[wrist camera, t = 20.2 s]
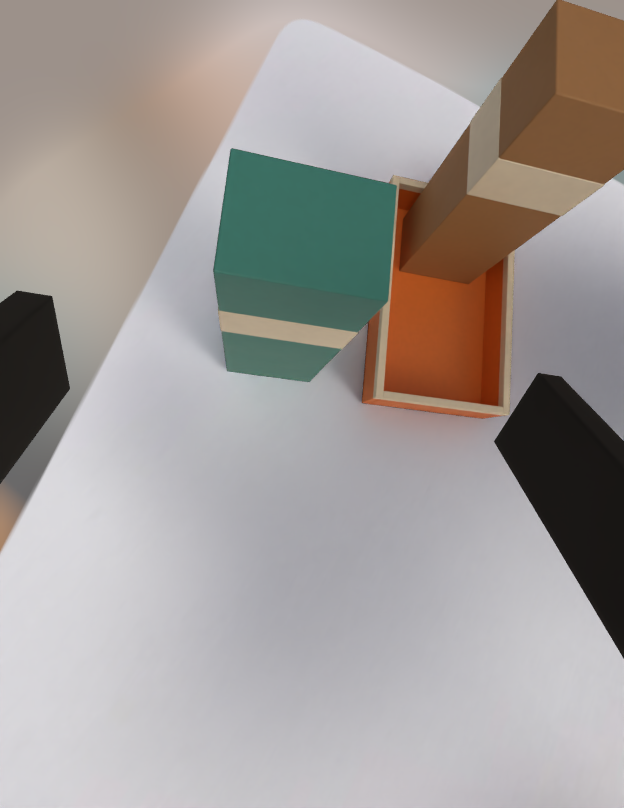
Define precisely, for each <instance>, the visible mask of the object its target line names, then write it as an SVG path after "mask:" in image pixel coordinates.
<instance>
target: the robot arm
mask: <svg viewBox="0 0 624 808" xmlns="http://www.w3.org/2000/svg"><path fill="white" fill-rule="evenodd" d="M69 389H70V386H69V381H68V376H67V371H66V366H65V361H64V356H63V350H62V345H61V340H60V334H59V329H58V324H57V319H56V314H55V308H54V303H53V298H52V296H48V295H41V294H34V293H29V292H22V291H16V292H15V293H13V294H12V295H11V296H9V297H8V298H6V299H5V300H4V301H2V302H1V303H0V484H1V482H2V481H3V479H4V478H5V477H6V475H7V474H8V473H9V471H10V470H11V468H12V467H13V466H14V464H15V463H16V462H17V460H18V459H19V458H20V456H21V455H22V454H23V452H24V451H25V449H26V448H27V447H28V445H29V444H30V443H31V441H32V440H33V438H34V437H35V436H36V434H37V433H38V432H39V430H40V429H41V428H42V426H43V425H44V423H45V422H46V421H47V419H48V418H49V417H50V415H51V414H52V413H53V411H54V410H55V408H56V407H57V406H58V404H59V403H60V401H61V400H62V399H63V398H64V396H65V395H66V393H67V392H68V391H69ZM494 442H495V444H496V446H497V447H498V449H499V451H500V452H501V454H502V456H503V457H504V459H505V461H506V462H507V464H508V466H509V467H510V469H511V471H512V472H513V474H514V476H515V477H516V479H517V481H518V482H519V484H520V486H521V487H522V489H523V491H524V492H525V494H526V496H527V497H528V499H529V501H530V502H531V504H532V506H533V508H534V509H535V511H536V513H537V514H538V516H539V518H540V519H541V521H542V523H543V524H544V526H545V528H546V529H547V531H548V533H549V534H550V536H551V538H552V539H553V541H554V543H555V544H556V546H557V548H558V549H559V551H560V553H561V554H562V556H563V558H564V559H565V561H566V563H567V564H568V566H569V568H570V569H571V571H572V573H573V574H574V576H575V578H576V579H577V581H578V583H579V584H580V586H581V588H582V589H583V591H584V593H585V594H586V596H587V598H588V600H589V601H590V603H591V605H592V606H593V608H594V610H595V611H596V613H597V615H598V616H599V618H600V620H601V621H602V623H603V625H604V626H605V628H606V630H607V631H608V633H609V635H610V636H611V638H612V640H613V641H614V643H615V645H616V646H617V648H618V650H619V651H620V653H621V655H622V656H623V658H624V441H623V440H622V439H621V438H620V437H619V436H618V435H617V434H616V433H615V432H614V431H613V430H612V429H611V428H610V427H609V425H608V424H607V423H606V422H605V421H604V420H603V419H602V418H601V417H600V416H599V415H598V414H597V413H596V412H595V411H594V410H593V409H592V408H591V407H590V406H589V405H588V404H587V403H586V402H585V401H584V400H583V399H582V398H581V397H580V396H579V395H578V394H577V393H576V392H575V390H574V389H573V388H572V387H571V386H570V385H569V384H568V383H567V382H566V381H565V380H564V379H563V378H562V377H560V376H554V375H548V374H541V373H538V374H537V375H536V377H535V378H534V380H533V382H532V383H531V385H530V386H529V388H528V389H527V391H526V393H525V394H524V396H523V397H522V399H521V400H520V402H519V403H518V405H517V407H516V408H515V410H514V411H513V413H512V414H511V416H510V417H509V419H508V421H507V422H506V424H505V425H504V427H503V428H502V430H501V432H500V433H499V435H498V436H497V438H496V439H495V441H494Z"/></svg>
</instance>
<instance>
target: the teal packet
mask: <svg viewBox="0 0 624 808" xmlns="http://www.w3.org/2000/svg"><path fill="white" fill-rule="evenodd" d="M396 191H397V185H394V184H389V183H385V182H380V181H376V180H372V179H367V178H363V177H358V176H354V175H349V174H345V173H340V172H336V171H331V170H327V169H322V168H318V167H313V166H309V165H304V164H300V163H295V162H291V161H286V160H282V159H277V158H273V157H268V156H264V155H260V154H255V153H251V152H246V151H242V150H237V149H233V148H232V149H231V150H230V157H229V164H228V171H227V178H226V185H225V192H224V199H223V206H222V213H221V220H220V227H219V234H218V241H217V248H216V255H215V262H214V269H213V272H214V279H215V287H216V294H217V301H218V315H219V322H220V329H221V331H222V338H223V345H224V353H225V360H226V368H227V371H230V372H237V373H245V374H252V375H260V376H267V377H275V378H282V379H290V380H297V381H305V382H310V381H311V380H312V379H313V378H314V377H315V376H316V375H317V374H318V372H319V371H320V370H321V369H322V368H323V367H324V366H325V365H326V364H327V363H328V362H329V361H330V360H331V359H332V358H333V357H334V356H335V355H336V354H337V353H338V352H339V351H340V350H341V349H343V348H344V347H345V346H346V345H347V344H348V343H349V342H350V341H351V340H352V339H353V338H354V337H355V336H356V335H357V334H358V333H359V331H360V330H361V329H362V328H363V327H364V326H365V325H366V323H367V322H368V321H369V320H370V319H371V318H372V317H373V316H374V315H375V314H376V313H377V312H378V311H379V310H380V309H381V308H382V307H383V306H384V305H385V304H386V303H387V302H388V297H389V284H390V270H391V257H392V244H393V231H394V218H395V205H396Z"/></svg>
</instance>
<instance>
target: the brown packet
mask: <svg viewBox="0 0 624 808" xmlns="http://www.w3.org/2000/svg"><path fill="white" fill-rule="evenodd" d="M623 170H624V21H623V20H620V19H617V18H614V17H611V16H608V15H605V14H602V13H599V12H596V11H592V10H590V9H587V8H584V7H581V6H578V5H575V4H571V3H569V2H565V1H562V0H556V2H555V3H554V5H553V6H552V8H551V9H550V10H549V12H548V13H547V15H546V16H545V18H544V19H543V20H542V22H541V23H540V25H539V26H538V27H537V29H536V30H535V32H534V33H533V35H532V36H531V37H530V39H529V40H528V42H527V43H526V45H525V46H524V47H523V49H522V50H521V52H520V53H519V54H518V56H517V58H516V59H515V60H514V62H513V63H512V64H511V66H510V67H509V69H508V70H507V72H506V73H505V74H504V76H503V77H502V78H501V79H500V80H499V82H498V83H497V85H496V86H495V87H494V89H493V90H492V91H491V93H490V94H489V96H488V97H487V99H486V100H485V102H484V103H483V104H482V106H481V107H480V109H479V110H478V111H477V113H476V114H475V116H474V117H473V119H472V120H471V122H470V124H469V126H468V127H467V129H466V130H465V131H464V133H463V134H462V136H461V137H460V139H459V140H458V141H457V143H456V144H455V146H454V147H453V149H452V150H451V151H450V153H449V154H448V156H447V157H446V158H445V160H444V161H443V163H442V164H441V166H440V167H439V168H438V170H437V171H436V173H435V174H434V176H433V177H432V178H431V180H430V181H429V183H428V184H427V186H426V187H425V188H424V190H423V191H422V193H421V194H420V196H419V197H418V198H417V200H416V201H415V203H414V204H413V205H412V207H411V208H410V210H409V211H408V213H407V214H406V215H405V217H404V218H403V226H402V240H401V253H400V267H399V271H401V272H407V273H412V274H417V275H423V276H428V277H433V278H439V279H444V280H449V281H454V282H460V283H465V284H469V283H471V282H472V281H474V280H475V279H476V278H478V277H479V276H480V275H482V274H483V273H484V272H486V271H487V270H488V269H490V268H491V267H493V266H494V265H495V264H497V263H498V262H499V261H501V260H502V259H503V258H505V257H506V256H507V255H509V254H510V253H511V252H513V251H514V250H516V249H517V248H518V247H520V246H521V245H522V244H524V243H525V242H526V241H528V240H529V239H530V238H532V237H533V236H535V235H536V234H537V233H539V232H540V231H541V230H543V229H544V228H545V227H547V226H548V225H549V224H551V223H552V222H554V221H555V220H556V219H558V218H559V217H560V216H563V215H564V214H566V213H567V212H568V211H570V210H571V209H573V208H574V207H575V206H577V205H578V204H579V203H581V202H582V201H583V200H585V199H586V198H588V197H589V196H590V195H592V194H593V193H594V192H596V191H597V190H598V189H600V188H601V187H602V186H604V185H605V183H606V182H608V181H609V180H610V179H612V178H613V177H614V176H616V175H617V174H619V173H620V172H621V171H623Z"/></svg>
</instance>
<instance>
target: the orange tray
mask: <svg viewBox="0 0 624 808" xmlns="http://www.w3.org/2000/svg"><path fill="white" fill-rule="evenodd" d="M389 184H394V185H397V191H396V205H395V218H394V231H393V244H392V257H391V270H390V284H389V297H388V302H387V303H386V304H385V305H384V306H383V307H382V308H381V309H380V310H379V311H378V312H377V313H376V314H375V315H374V316H373V317H372V318H371V319H370V320H369V323H368V335H367V346H366V358H365V370H364V382H363V394H362V403H366V404H373V405H381V406H389V407H397V408H404V409H412V410H420V411H428V412H435V413H443V414H451V415H458V416H466V417H474V418H482V419H484V418H490V417H497V416H506V415H509V412H510V380H511V348H512V316H513V284H514V252H515V250H514V251H513V252H511V253H510V254H509V255H507V256H506V257H505V258H503V259H502V260H501V261H499V262H498V263H497V264H495V265H494V266H493V267H491V268H490V269H488V270H487V271H486V272H484V273H483V274H482V275H480V276H479V277H478V278H476V279H475V280H474V281H472V282H471V283H469V284H465V283H460V282H454V281H449V280H444V279H439V278H433V277H428V276H423V275H417V274H412V273H407V272H401V271H399V267H400V253H401V240H402V226H403V218H404V217H405V215H406V214H407V213H408V211H409V210H410V208H411V207H412V205H413V204H414V203H415V201H416V200H417V198H418V197H419V196H420V194H421V193H422V191H423V190H424V188H425V187H426V186H427V184H428V183H426V182H421V181H417V180H413V179H408V178H404V177H399V176H395V175H393V177H392V178H391V180H390V183H389Z"/></svg>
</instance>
